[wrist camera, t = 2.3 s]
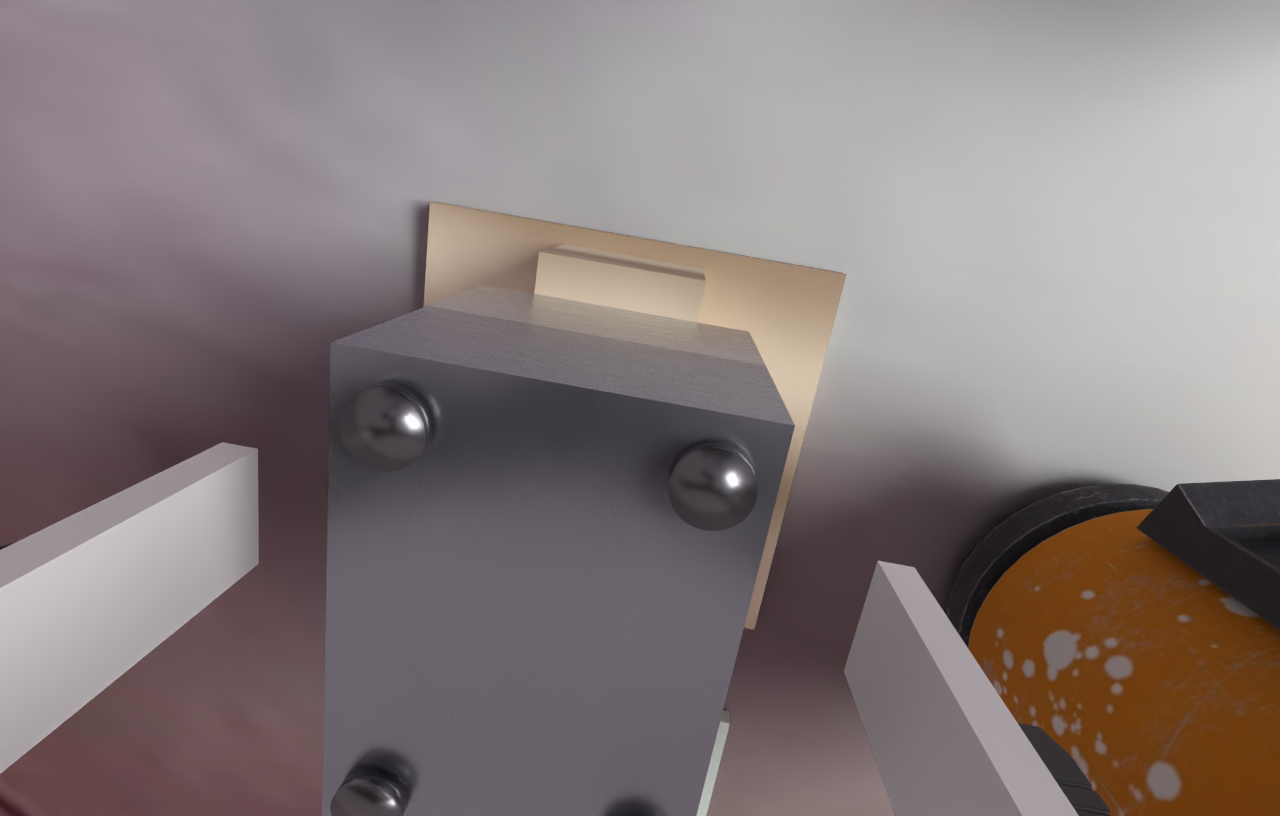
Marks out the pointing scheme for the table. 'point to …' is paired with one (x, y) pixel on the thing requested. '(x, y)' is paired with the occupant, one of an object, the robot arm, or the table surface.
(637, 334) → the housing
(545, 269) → the stand
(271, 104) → the table surface
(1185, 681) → the canister
